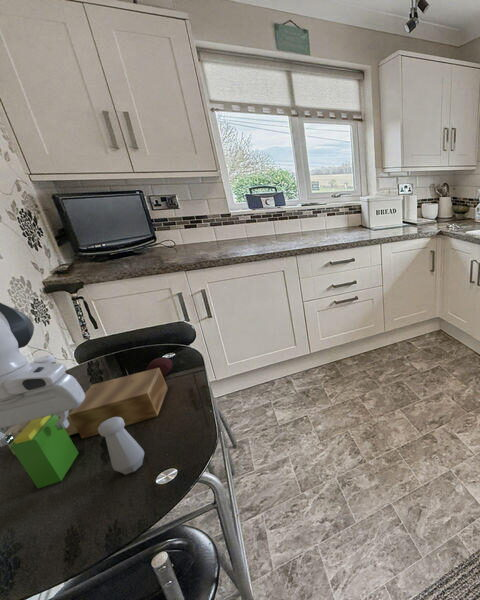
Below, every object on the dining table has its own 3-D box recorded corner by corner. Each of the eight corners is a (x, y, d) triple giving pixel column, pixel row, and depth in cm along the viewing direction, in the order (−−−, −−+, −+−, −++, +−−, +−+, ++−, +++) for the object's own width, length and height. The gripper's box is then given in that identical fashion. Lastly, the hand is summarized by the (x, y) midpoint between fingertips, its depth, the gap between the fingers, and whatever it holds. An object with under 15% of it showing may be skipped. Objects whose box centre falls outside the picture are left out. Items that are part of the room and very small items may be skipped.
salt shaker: (130, 456, 77) (108, 412, 73) (153, 455, 77) (132, 411, 72) (109, 478, 72) (84, 432, 67) (134, 477, 72) (110, 430, 67)
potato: (177, 366, 117) (171, 351, 115) (172, 378, 109) (166, 363, 107) (153, 372, 114) (146, 357, 112) (145, 385, 106) (138, 369, 104)
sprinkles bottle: (75, 389, 108) (56, 354, 103) (59, 398, 104) (39, 362, 99) (64, 389, 109) (45, 354, 104) (48, 398, 105) (28, 362, 100)
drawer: (-10, 461, 79) (-23, 442, 77) (23, 426, 90) (12, 409, 88) (92, 431, 86) (82, 413, 84) (110, 402, 98) (102, 385, 96)
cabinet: (82, 438, 85) (68, 414, 82) (102, 406, 98) (91, 384, 95) (157, 416, 91) (147, 392, 88) (167, 388, 104) (159, 367, 101)
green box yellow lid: (38, 488, 71) (7, 442, 66) (58, 459, 79) (31, 416, 74) (61, 480, 73) (32, 435, 68) (78, 452, 80) (54, 410, 76)
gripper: (-82, 409, 60) (-40, 464, 65) (59, 375, 68) (87, 428, 73) (-56, 390, 66) (-19, 443, 71) (73, 361, 73) (98, 411, 78)
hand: (36, 435), depth 72 cm, fingers open, 8 cm apart
